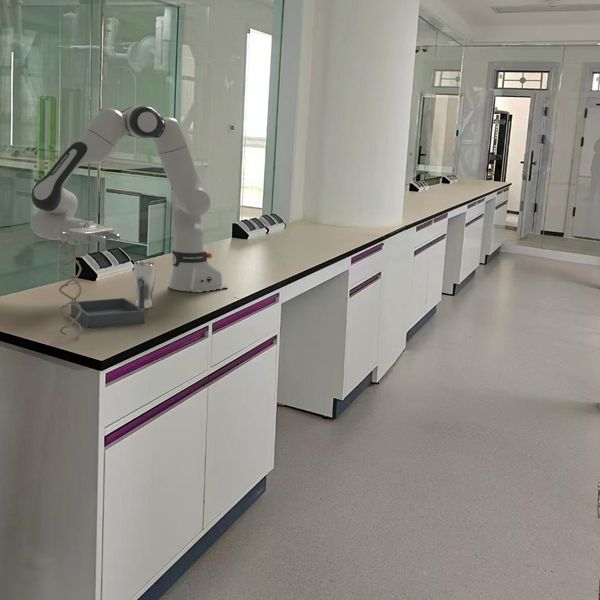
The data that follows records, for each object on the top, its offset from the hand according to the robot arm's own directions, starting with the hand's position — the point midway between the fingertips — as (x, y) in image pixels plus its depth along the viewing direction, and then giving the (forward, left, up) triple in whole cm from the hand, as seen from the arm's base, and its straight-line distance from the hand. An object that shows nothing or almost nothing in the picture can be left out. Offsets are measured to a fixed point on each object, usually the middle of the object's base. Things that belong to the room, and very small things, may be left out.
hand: (111, 238), depth 244 cm
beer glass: (-8, +10, -22) cm, 25 cm away
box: (+8, +20, -22) cm, 31 cm away
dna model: (+24, +36, -22) cm, 48 cm away
